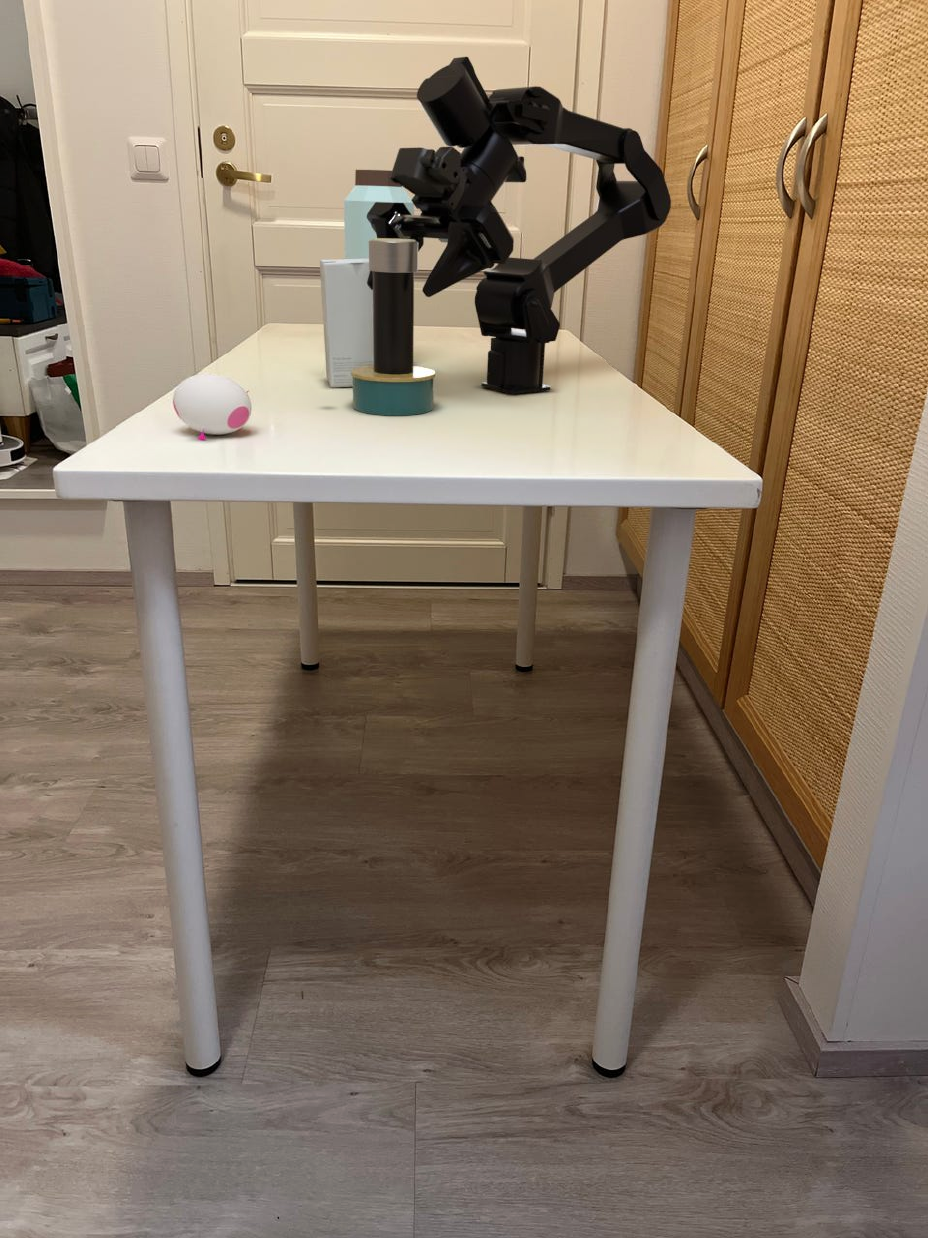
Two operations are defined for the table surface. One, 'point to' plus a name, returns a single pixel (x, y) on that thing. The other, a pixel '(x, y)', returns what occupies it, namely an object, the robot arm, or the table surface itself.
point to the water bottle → (368, 208)
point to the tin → (392, 391)
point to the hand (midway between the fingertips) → (396, 290)
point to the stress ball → (212, 404)
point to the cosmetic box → (346, 318)
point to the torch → (393, 303)
